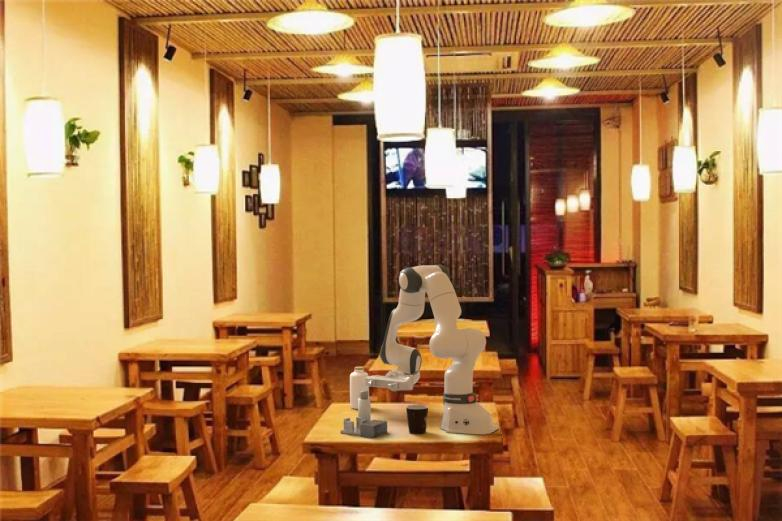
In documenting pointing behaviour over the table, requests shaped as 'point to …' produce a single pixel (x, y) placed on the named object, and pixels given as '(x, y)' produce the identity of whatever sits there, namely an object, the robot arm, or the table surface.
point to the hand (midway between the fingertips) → (378, 385)
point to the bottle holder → (365, 427)
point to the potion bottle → (357, 385)
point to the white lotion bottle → (364, 406)
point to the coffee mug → (417, 418)
